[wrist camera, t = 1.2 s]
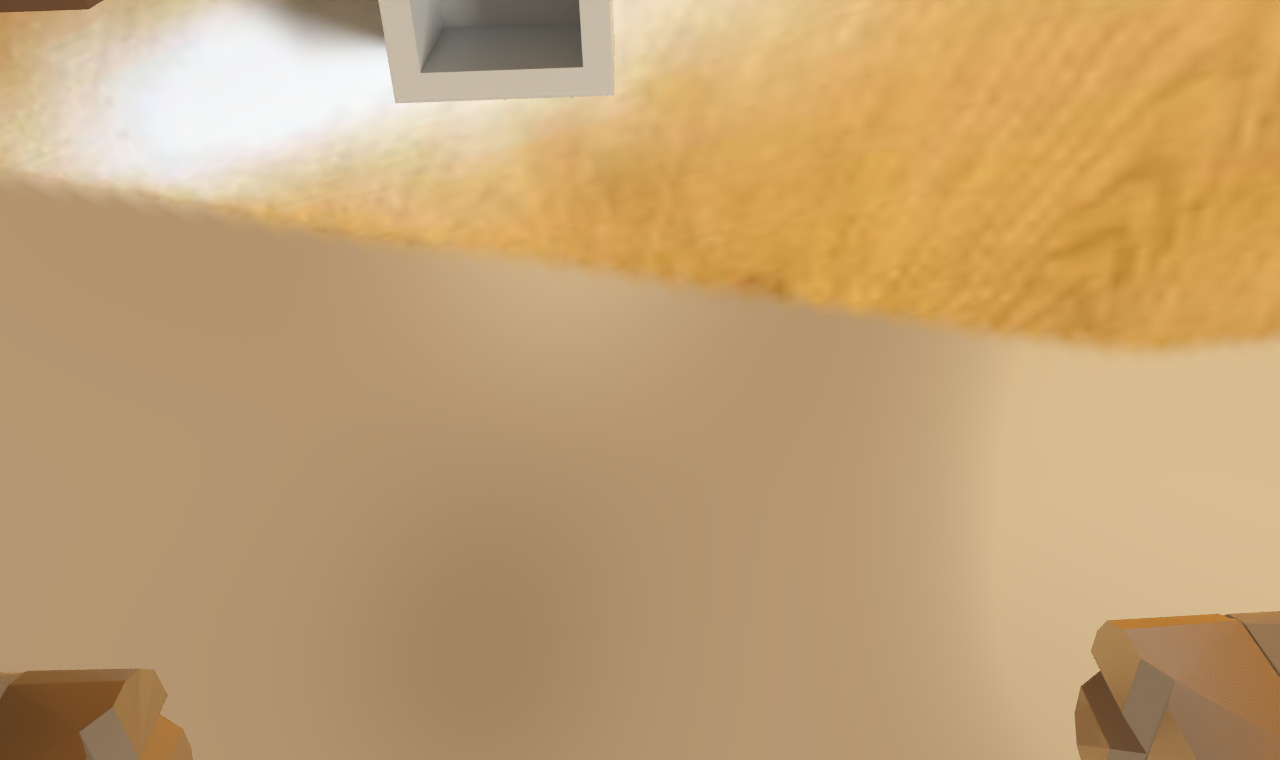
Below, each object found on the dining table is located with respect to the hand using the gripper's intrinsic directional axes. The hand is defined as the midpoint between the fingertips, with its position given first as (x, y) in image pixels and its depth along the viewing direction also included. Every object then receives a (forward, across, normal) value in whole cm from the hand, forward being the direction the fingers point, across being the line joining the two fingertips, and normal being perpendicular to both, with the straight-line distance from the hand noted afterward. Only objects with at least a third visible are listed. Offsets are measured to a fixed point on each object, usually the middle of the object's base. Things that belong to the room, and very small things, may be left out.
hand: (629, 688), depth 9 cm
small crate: (+27, +3, -2) cm, 27 cm away
